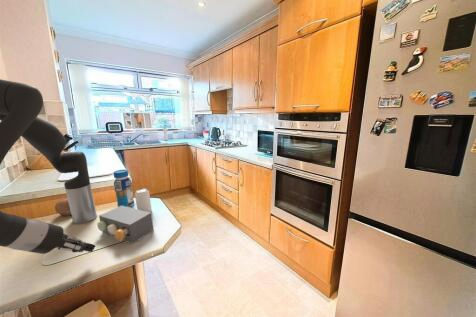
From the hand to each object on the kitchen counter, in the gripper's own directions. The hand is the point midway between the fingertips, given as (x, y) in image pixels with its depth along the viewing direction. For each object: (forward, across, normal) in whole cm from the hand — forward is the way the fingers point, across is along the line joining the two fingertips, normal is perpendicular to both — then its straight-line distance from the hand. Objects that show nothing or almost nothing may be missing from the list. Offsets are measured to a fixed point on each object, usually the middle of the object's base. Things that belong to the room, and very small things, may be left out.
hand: (92, 248), depth 66 cm
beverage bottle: (+27, +30, -20) cm, 45 cm away
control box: (+15, +6, -8) cm, 18 cm away
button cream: (+10, +6, -7) cm, 13 cm away
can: (+26, +13, -19) cm, 34 cm away
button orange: (+9, -1, -6) cm, 11 cm away
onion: (+14, +49, -7) cm, 52 cm away
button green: (+10, +12, -7) cm, 17 cm away
